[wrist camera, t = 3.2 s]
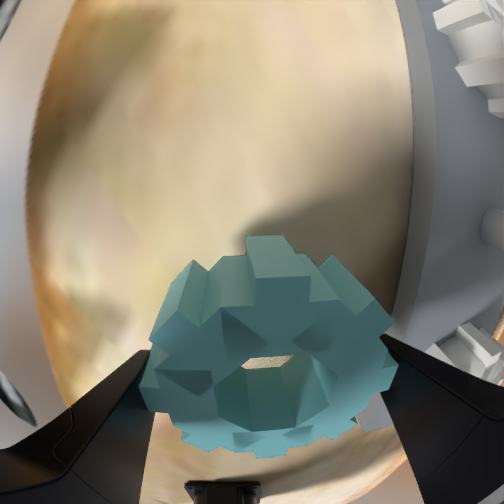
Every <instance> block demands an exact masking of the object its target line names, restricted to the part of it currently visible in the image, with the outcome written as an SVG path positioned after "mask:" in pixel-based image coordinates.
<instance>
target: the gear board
mask: <svg viewBox="0 0 504 504" xmlns="http://www.w3.org/2000/svg"><path fill="white" fill-rule="evenodd" d="M396 4H397V8H398V12H399V16H400V20H401V25H402V29H403V34H404V40H405V45H406V51H407V58H408V65H409V73H410V82H411V93H412V107H413V136H414V151H413V180H412V195H411V207H410V216H409V225H408V233H407V240H406V247H405V253H404V259H403V265H402V270H401V275H400V280H399V285H398V290H397V294H396V299H395V303H394V307H393V311H392V315H391V318H392V319H393V321H394V322H395V323H394V324H393V325H392V326H391V327H389V328H388V330H387V335H389V336H391V337H393V338H395V339H397V340H399V341H402V342H404V343H406V344H408V345H410V346H412V347H414V348H416V349H418V350H420V351H422V352H425V353H427V354H429V355H431V356H433V357H435V358H437V359H439V360H441V361H444V362H446V363H448V364H450V365H452V366H454V367H456V368H458V369H461V370H462V371H465V372H467V373H469V374H471V375H474V376H476V377H478V378H481V379H483V380H486V381H488V382H491V383H494V384H496V385H499V386H500V384H501V383H502V381H503V379H504V378H503V377H502V374H503V371H504V347H503V346H502V345H501V344H500V343H499V342H498V341H497V340H496V339H494V338H493V337H492V336H493V334H494V331H495V329H496V326H497V324H498V321H499V319H500V316H501V314H502V311H503V308H504V0H396ZM357 418H358V420H359V422H360V424H361V427H362V429H363V431H364V433H366V432H370V431H373V430H377V429H380V428H383V427H386V426H389V425H392V424H393V422H392V419H391V417H390V415H389V412H388V410H387V408H386V406H385V404H384V401H383V399H382V397H381V394H380V392H379V393H375V394H372V396H371V398H370V401H369V403H368V406H367V408H366V409H364V410H363V411H361V412H360V413H358V415H357Z"/></svg>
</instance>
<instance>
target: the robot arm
mask: <svg viewBox="0 0 504 504" xmlns="http://www.w3.org/2000/svg"><path fill="white" fill-rule="evenodd" d="M379 338H380V339H381V341H382V342H383V343H384V345H385V346H386V347H387V349H388V352H389V353H390V355H391V356H392V357H393V359H394V360H395V361H396V362H397V363H398V364H399V365H398V368H397V371H396V373H395V376H394V378H393V380H392V383H391V385H390V387H389V390H386V391H382V392H380V394H381V397H382V399H383V401H384V404H385V406H386V408H387V410H388V412H389V415H390V417H391V419H392V422H393V424H394V426H395V429H396V431H397V433H398V436H399V438H400V440H401V443H402V445H403V448H404V450H405V453H406V455H407V458H408V460H409V463H410V465H411V468H412V470H413V473H414V476H415V478H416V481H417V484H418V486H419V490H420V492H421V495H422V498H423V501H424V504H504V387H502V386H499V385H496V384H494V383H491V382H488V381H486V380H483V379H481V378H478V377H476V376H474V375H471V374H469V373H467V372H465V371H462V370H461V369H458V368H456V367H454V366H452V365H450V364H448V363H446V362H444V361H441V360H439V359H437V358H435V357H433V356H431V355H429V354H427V353H425V352H422V351H420V350H418V349H416V348H414V347H412V346H410V345H408V344H406V343H404V342H402V341H399V340H397V339H395V338H393V337H391V336H389V335H387V334H382V335H381V336H380V337H379ZM150 351H151V350H139V351H138V352H137V353H136V354H134V355H133V356H132V357H131V358H129V359H128V360H127V361H126V362H125V363H123V364H122V365H121V366H120V367H118V368H117V369H116V370H115V371H113V372H112V373H111V374H110V375H109V376H107V377H106V378H105V379H104V380H102V381H101V382H100V383H99V384H97V385H96V386H95V387H94V388H93V389H91V390H90V391H89V392H88V393H86V394H85V395H84V396H83V397H81V398H80V399H79V400H78V401H76V402H75V403H74V404H73V405H72V406H71V407H69V408H68V409H66V410H65V411H64V412H63V413H62V414H60V415H59V416H58V417H56V418H55V419H54V420H52V421H51V422H49V423H48V424H46V425H45V426H44V427H42V428H40V429H39V430H37V431H36V432H34V433H33V434H31V435H29V436H28V437H26V438H25V439H23V440H21V441H20V442H18V443H16V444H15V445H13V446H11V447H9V448H5V449H0V504H139V499H140V492H141V486H142V480H143V474H144V468H145V462H146V457H147V451H148V446H149V441H150V436H151V431H152V426H153V421H154V416H155V412H150V411H148V409H147V406H146V404H145V401H144V399H143V397H142V394H141V392H140V389H139V384H140V382H141V380H142V377H143V375H144V372H145V369H146V366H147V363H148V360H149V356H150ZM184 488H185V489H186V491H187V492H188V494H189V495H190V497H191V498H192V500H193V501H194V504H259V503H260V488H261V487H260V483H258V482H252V483H226V484H214V483H185V486H184Z"/></svg>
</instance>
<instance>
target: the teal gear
mask: <svg viewBox="0 0 504 504" xmlns="http://www.w3.org/2000/svg"><path fill="white" fill-rule="evenodd" d="M394 323H395V322H394V321H393V319H392V318H391V317H390V316H389V314H388V313H387V312H386V311H385V310H384V308H383V307H382V306H381V305H380V303H379V302H378V301H377V300H376V299H375V298H374V296H373V295H372V294H371V293H370V292H369V291H368V290H367V289H366V288H365V287H364V286H363V285H362V284H361V283H360V282H359V281H358V280H357V279H356V278H355V277H354V276H353V275H352V274H351V273H350V272H349V271H348V270H347V269H346V268H345V267H344V266H343V265H342V264H341V263H340V262H339V261H338V260H337V259H336V258H335V257H334V256H333V255H332V254H331V255H330V256H329V257H328V258H327V259H326V260H325V261H324V262H323V263H322V264H321V265H320V266H319V267H318V266H317V265H316V264H315V263H314V262H313V261H312V260H311V259H310V258H309V257H308V256H307V255H306V254H305V253H297V254H296V253H295V251H294V250H293V248H292V247H291V246H290V244H289V243H288V241H287V240H286V238H285V237H284V236H283V235H264V236H246V255H241V256H223V257H222V258H221V259H220V260H219V261H218V262H217V263H216V264H215V265H214V266H213V267H212V268H211V269H210V270H209V271H207V270H206V269H204V268H203V267H202V266H201V265H200V264H198V263H197V262H196V261H195V260H194V259H193V260H192V261H191V262H190V263H189V264H188V266H187V267H186V268H185V269H184V270H183V271H182V272H181V273H180V274H179V275H178V276H177V278H176V279H175V280H174V281H173V282H172V283H171V285H170V288H169V290H168V293H167V295H166V297H165V300H164V302H163V305H162V307H161V309H160V312H159V314H158V317H157V319H156V322H155V324H154V327H153V330H152V332H151V335H150V337H149V341H151V342H152V343H153V345H152V348H151V351H150V356H149V360H148V363H147V366H146V369H145V372H144V375H143V377H142V380H141V382H140V384H139V389H140V392H141V394H142V397H143V399H144V401H145V404H146V406H147V409H148V411H150V412H162V413H169V415H170V418H171V421H172V423H173V426H175V427H177V428H179V429H181V430H182V439H181V441H183V442H185V443H188V444H190V445H192V446H195V447H197V448H200V449H202V450H204V451H207V452H209V451H211V450H213V449H215V448H217V447H222V448H225V449H227V450H230V451H233V452H235V453H236V452H255V457H256V458H267V457H277V456H285V455H286V454H287V449H288V448H293V447H300V446H306V445H309V444H311V443H312V442H314V441H316V440H318V439H319V438H321V437H323V436H324V437H326V438H329V439H332V440H333V439H335V438H336V437H338V436H339V435H341V434H343V433H344V432H346V431H347V430H349V429H351V428H352V427H354V426H355V425H357V424H358V423H357V421H356V418H355V416H356V415H357V414H358V413H360V412H361V411H363V410H364V409H366V408H367V406H368V403H369V401H370V398H371V396H372V394H375V393H379V392H382V391H386V390H389V387H390V385H391V383H392V380H393V378H394V376H395V373H396V371H397V368H398V365H399V364H398V363H397V362H396V361H395V360H394V359H393V357H392V356H391V355H390V353H389V352H388V349H387V347H386V346H385V345H384V343H383V342H382V341H381V339H380V338H379V337H380V336H381V335H382V334H383V333H384V332H385V331H386V330H387V329H388V328H389V327H391V326H392V325H393V324H394ZM295 354H296V355H295ZM284 355H295V356H293V357H292V358H291V359H290V360H288V361H287V362H286V363H284V364H283V365H282V366H281V367H271V368H258V369H245V368H243V367H241V365H242V364H244V363H245V362H246V361H248V360H249V359H250V358H258V357H272V356H284Z"/></svg>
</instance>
